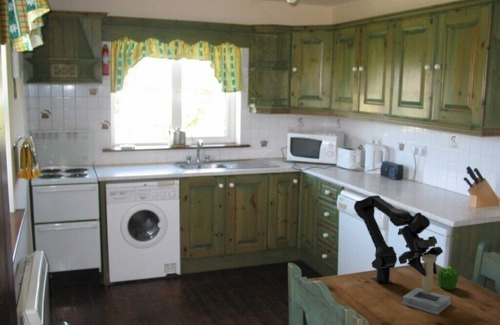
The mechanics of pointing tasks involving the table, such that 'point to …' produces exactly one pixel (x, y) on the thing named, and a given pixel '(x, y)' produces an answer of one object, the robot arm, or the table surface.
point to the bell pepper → (448, 278)
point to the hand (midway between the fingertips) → (430, 274)
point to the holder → (426, 301)
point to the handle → (428, 272)
